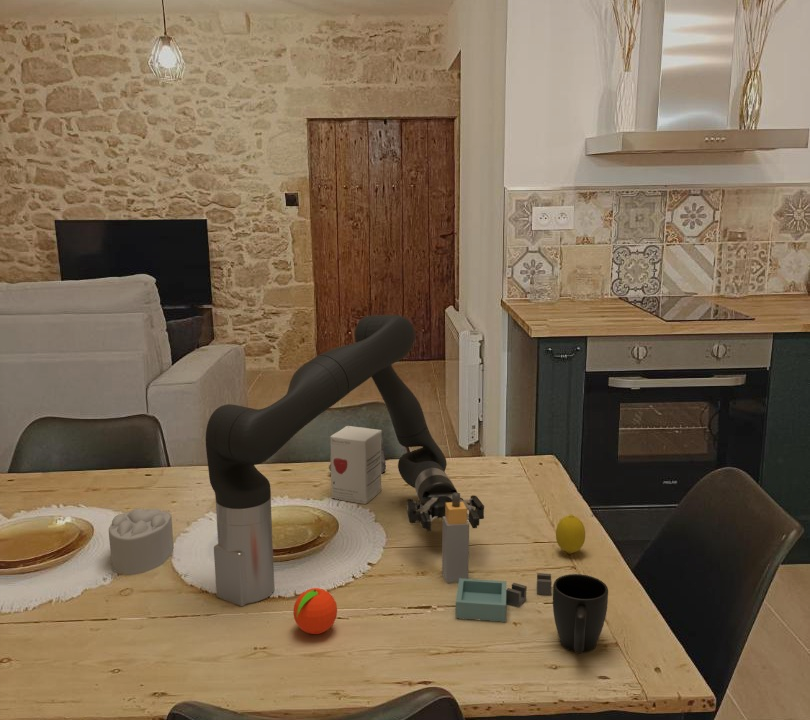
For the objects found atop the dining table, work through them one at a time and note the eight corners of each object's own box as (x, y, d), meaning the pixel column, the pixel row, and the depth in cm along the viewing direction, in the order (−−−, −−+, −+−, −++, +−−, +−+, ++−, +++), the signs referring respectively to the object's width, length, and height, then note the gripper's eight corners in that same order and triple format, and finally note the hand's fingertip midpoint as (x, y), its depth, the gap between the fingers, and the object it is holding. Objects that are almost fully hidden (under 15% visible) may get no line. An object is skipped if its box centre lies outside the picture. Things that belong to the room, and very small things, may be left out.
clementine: (315, 651, 123) (314, 608, 121) (280, 637, 126) (278, 596, 125) (346, 626, 129) (345, 586, 128) (312, 614, 133) (311, 575, 131)
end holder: (505, 622, 130) (506, 605, 130) (455, 618, 131) (455, 602, 131) (506, 597, 138) (506, 581, 138) (459, 594, 139) (459, 578, 139)
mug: (547, 668, 118) (549, 609, 116) (552, 625, 130) (555, 571, 127) (604, 676, 116) (608, 616, 114) (605, 631, 128) (608, 576, 126)
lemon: (584, 561, 151) (586, 522, 149) (554, 558, 152) (556, 519, 151) (584, 548, 156) (586, 510, 155) (555, 546, 158) (556, 508, 156)
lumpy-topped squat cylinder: (179, 544, 159) (176, 503, 157) (155, 576, 146) (152, 531, 144) (127, 543, 159) (124, 502, 157) (99, 574, 147) (95, 530, 145)
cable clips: (535, 612, 133) (535, 598, 133) (505, 603, 136) (506, 589, 136) (557, 588, 141) (557, 575, 141) (528, 580, 144) (529, 567, 143)
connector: (468, 581, 144) (469, 497, 140) (446, 583, 143) (447, 498, 140) (463, 571, 148) (464, 489, 144) (442, 572, 147) (442, 490, 144)
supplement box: (329, 499, 181) (328, 435, 178) (347, 485, 189) (346, 424, 186) (366, 505, 178) (365, 440, 174) (382, 491, 186) (382, 429, 183)
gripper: (400, 476, 160) (413, 507, 144) (470, 472, 162) (491, 503, 146) (400, 511, 161) (413, 546, 146) (470, 507, 163) (490, 541, 148)
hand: (452, 524), depth 146 cm, fingers open, 8 cm apart
